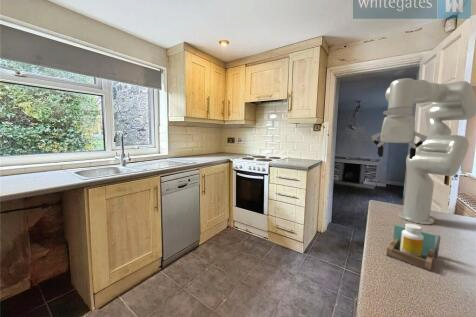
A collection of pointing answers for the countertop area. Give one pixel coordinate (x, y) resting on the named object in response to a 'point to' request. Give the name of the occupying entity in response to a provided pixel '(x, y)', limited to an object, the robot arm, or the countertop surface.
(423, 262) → the bay
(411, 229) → the supplement bottle
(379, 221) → the countertop surface
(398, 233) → the gate
